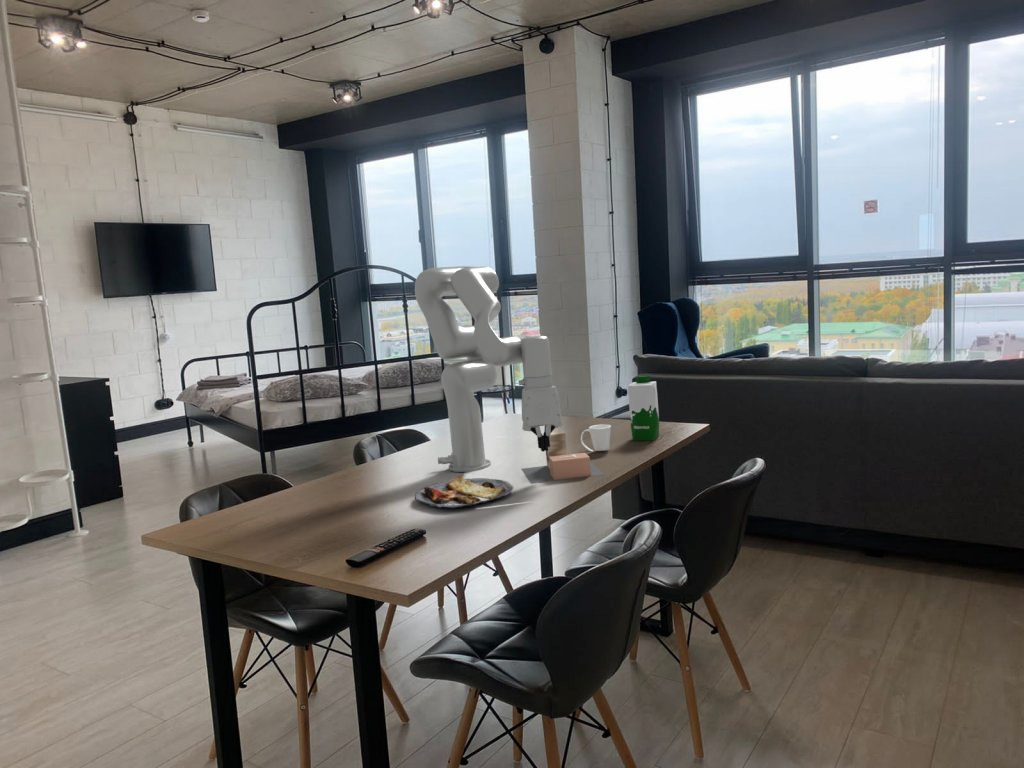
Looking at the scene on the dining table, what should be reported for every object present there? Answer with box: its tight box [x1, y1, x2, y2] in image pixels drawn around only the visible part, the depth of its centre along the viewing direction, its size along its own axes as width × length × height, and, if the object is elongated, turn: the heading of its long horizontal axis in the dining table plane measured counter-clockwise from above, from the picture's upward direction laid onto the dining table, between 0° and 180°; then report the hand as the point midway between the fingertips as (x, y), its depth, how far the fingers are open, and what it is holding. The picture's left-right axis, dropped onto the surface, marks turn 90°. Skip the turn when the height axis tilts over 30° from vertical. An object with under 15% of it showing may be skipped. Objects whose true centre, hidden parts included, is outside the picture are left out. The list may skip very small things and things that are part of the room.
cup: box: [580, 424, 612, 452], centre depth 233 cm, size 7×10×8 cm
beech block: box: [545, 429, 568, 469], centre depth 218 cm, size 5×6×10 cm
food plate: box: [414, 475, 514, 509], centre depth 196 cm, size 25×23×4 cm
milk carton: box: [627, 374, 660, 441], centre depth 247 cm, size 9×9×20 cm
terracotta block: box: [549, 452, 591, 480], centre depth 207 cm, size 5×6×10 cm
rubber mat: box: [521, 461, 606, 485], centre depth 212 cm, size 20×18×1 cm
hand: (544, 450), depth 206 cm, fingers closed
